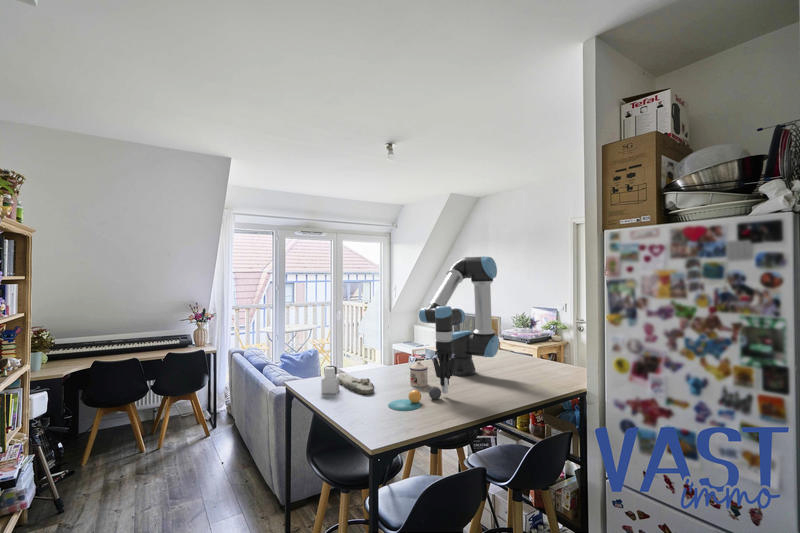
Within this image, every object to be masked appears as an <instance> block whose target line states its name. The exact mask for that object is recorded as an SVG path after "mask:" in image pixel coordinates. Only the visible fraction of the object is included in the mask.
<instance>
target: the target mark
mask: <svg viewBox="0 0 800 533" xmlns="http://www.w3.org/2000/svg"><path fill="white" fill-rule="evenodd" d="M387 406H388V408H389V409H391V410H393V411H394V410H395V411H399V412H400V411H401V412H407V411H409V412H410V411H415V410H418V409H420V408H421V406H422V403H421V402H420V401H419V402H418V403H412V402H411V401H410V400H409V398H408V399H407V398H406V399H405V398H403V399H395V400H392V401H390V402H388V405H387Z"/></svg>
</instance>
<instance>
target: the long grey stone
mask: <svg viewBox="0 0 800 533" xmlns="http://www.w3.org/2000/svg"><path fill="white" fill-rule="evenodd" d="M338 375H339V385H343V387H345V388H347V389H349V390H351V391H352V390H353V391H352V392H355V393H357V394H361V395H371V394H373V393H374V392H375V385H374V384H373V383H372V382H371V380H370V378H357V377H355V376H352V375H349V374H348V373H341V374H338Z"/></svg>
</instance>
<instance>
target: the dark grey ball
mask: <svg viewBox="0 0 800 533" xmlns="http://www.w3.org/2000/svg"><path fill="white" fill-rule="evenodd" d="M428 396H429V398H430V399H432V400H434V401H435V400H438V399H439V398H440V397H441V396H442V389H441V388H440V387H438V386H432V387H430V388H429V390H428Z"/></svg>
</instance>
